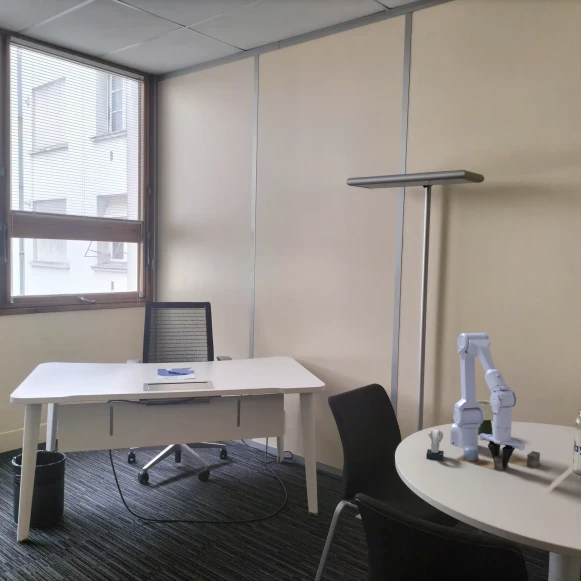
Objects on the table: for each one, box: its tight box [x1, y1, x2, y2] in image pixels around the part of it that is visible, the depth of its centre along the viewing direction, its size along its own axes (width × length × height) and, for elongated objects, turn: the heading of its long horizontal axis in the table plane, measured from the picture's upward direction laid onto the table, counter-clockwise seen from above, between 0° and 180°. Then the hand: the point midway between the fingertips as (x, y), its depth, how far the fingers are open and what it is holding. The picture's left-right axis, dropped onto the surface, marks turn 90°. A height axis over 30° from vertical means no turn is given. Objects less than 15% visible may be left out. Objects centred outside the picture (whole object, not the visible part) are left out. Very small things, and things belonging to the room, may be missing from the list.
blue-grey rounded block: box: [462, 446, 480, 462], centre depth 194 cm, size 5×5×4 cm
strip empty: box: [487, 450, 542, 470], centre depth 193 cm, size 16×7×5 cm, turn 47°
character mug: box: [472, 399, 494, 435], centre depth 224 cm, size 11×7×13 cm, turn 79°
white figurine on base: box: [425, 428, 445, 462], centre depth 195 cm, size 6×8×11 cm
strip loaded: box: [455, 452, 510, 473], centre depth 191 cm, size 16×7×5 cm, turn 47°
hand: (500, 465), depth 186 cm, fingers closed on strip loaded, 2 cm apart
